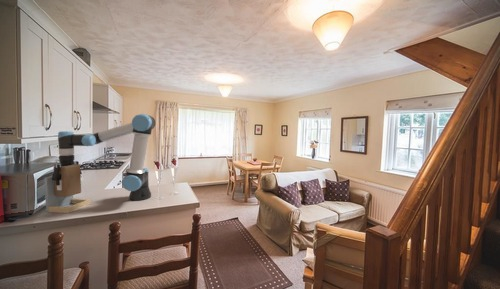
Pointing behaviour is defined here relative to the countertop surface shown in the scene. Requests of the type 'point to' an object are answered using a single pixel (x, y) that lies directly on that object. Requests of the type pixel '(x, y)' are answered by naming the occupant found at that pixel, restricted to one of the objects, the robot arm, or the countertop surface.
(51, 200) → the board
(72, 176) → the wooden block
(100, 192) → the countertop surface
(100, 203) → the countertop surface
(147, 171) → the robot arm
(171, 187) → the countertop surface
